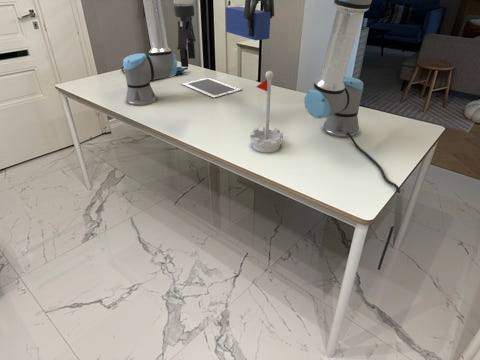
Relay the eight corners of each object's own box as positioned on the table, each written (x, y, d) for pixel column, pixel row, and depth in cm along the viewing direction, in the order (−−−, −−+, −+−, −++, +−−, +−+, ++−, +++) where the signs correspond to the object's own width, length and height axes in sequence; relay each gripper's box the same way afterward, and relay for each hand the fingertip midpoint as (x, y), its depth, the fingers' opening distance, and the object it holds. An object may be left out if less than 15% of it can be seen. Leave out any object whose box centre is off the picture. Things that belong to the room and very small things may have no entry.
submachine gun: (173, 61, 239) (192, 66, 223) (173, 67, 241) (193, 72, 225) (127, 70, 221) (144, 76, 204) (128, 76, 223) (146, 83, 206)
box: (269, 38, 152) (270, 12, 146) (255, 40, 148) (256, 13, 142) (238, 30, 169) (238, 6, 163) (225, 31, 166) (225, 7, 160)
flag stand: (273, 136, 144) (277, 64, 128) (288, 150, 134) (294, 73, 118) (245, 141, 141) (245, 68, 124) (257, 156, 130) (260, 77, 114)
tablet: (181, 84, 205) (181, 83, 205) (208, 77, 216) (208, 77, 216) (213, 98, 185) (213, 97, 185) (241, 90, 196) (241, 89, 196)
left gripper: (181, 1, 139) (186, 55, 151) (165, 8, 118) (172, 70, 130) (199, 1, 138) (202, 55, 150) (186, 8, 118) (191, 70, 129)
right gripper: (274, -26, 146) (271, 31, 159) (234, -25, 137) (235, 36, 149) (285, -25, 141) (281, 34, 153) (244, -24, 132) (244, 39, 144)
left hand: (188, 62), depth 140 cm, fingers open, 13 cm apart
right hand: (258, 35), depth 151 cm, fingers closed on box, 7 cm apart
